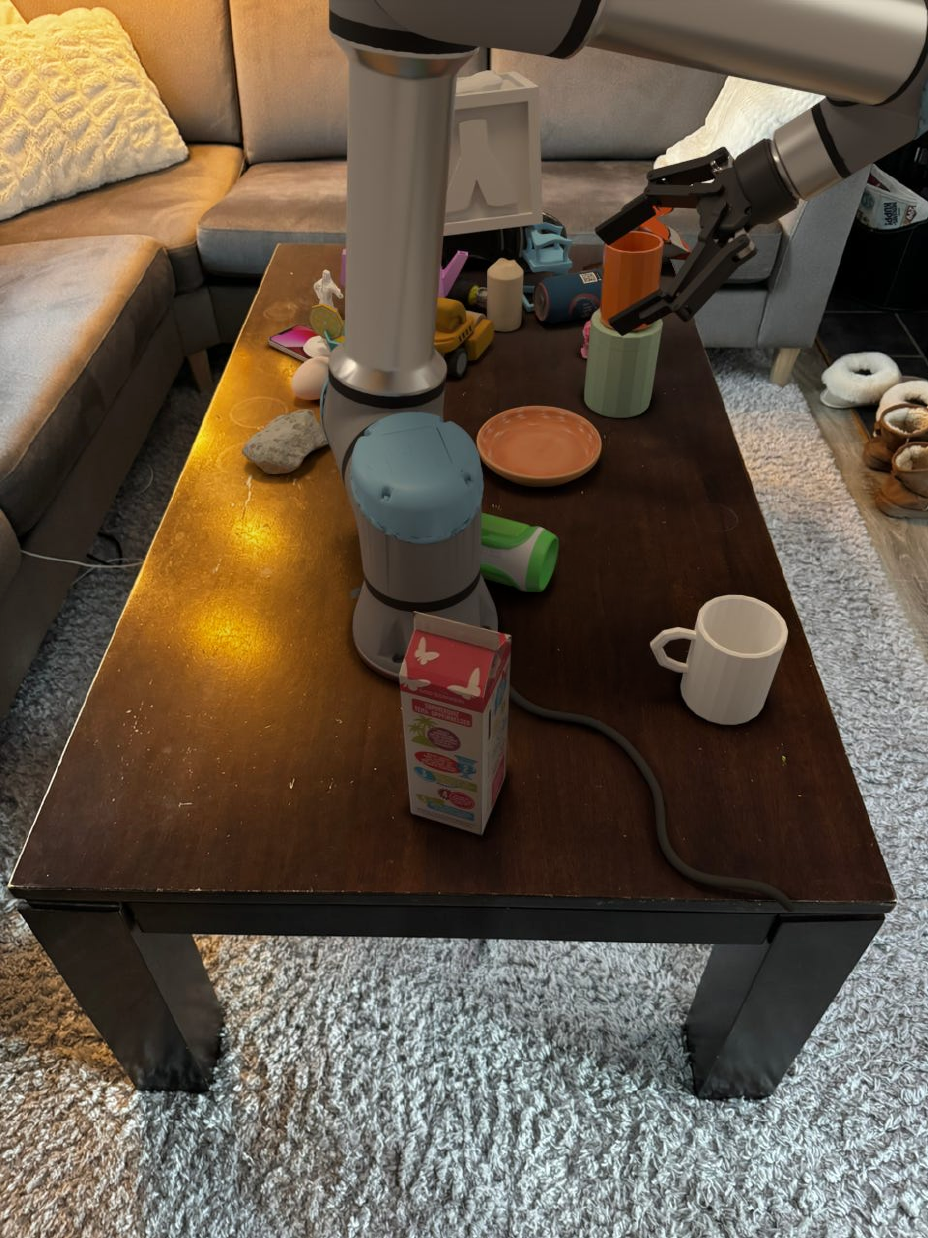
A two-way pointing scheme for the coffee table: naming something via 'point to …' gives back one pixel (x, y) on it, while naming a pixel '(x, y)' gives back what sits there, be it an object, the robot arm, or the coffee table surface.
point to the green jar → (620, 369)
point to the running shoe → (496, 244)
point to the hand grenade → (468, 293)
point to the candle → (505, 295)
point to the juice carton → (455, 719)
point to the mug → (728, 658)
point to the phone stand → (545, 254)
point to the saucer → (539, 445)
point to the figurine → (324, 293)
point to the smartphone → (293, 341)
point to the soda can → (568, 296)
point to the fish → (666, 236)
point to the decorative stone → (285, 442)
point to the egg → (310, 378)
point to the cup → (327, 324)
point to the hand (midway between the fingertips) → (607, 281)
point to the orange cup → (629, 272)
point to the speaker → (517, 553)
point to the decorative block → (494, 155)
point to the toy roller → (460, 335)
